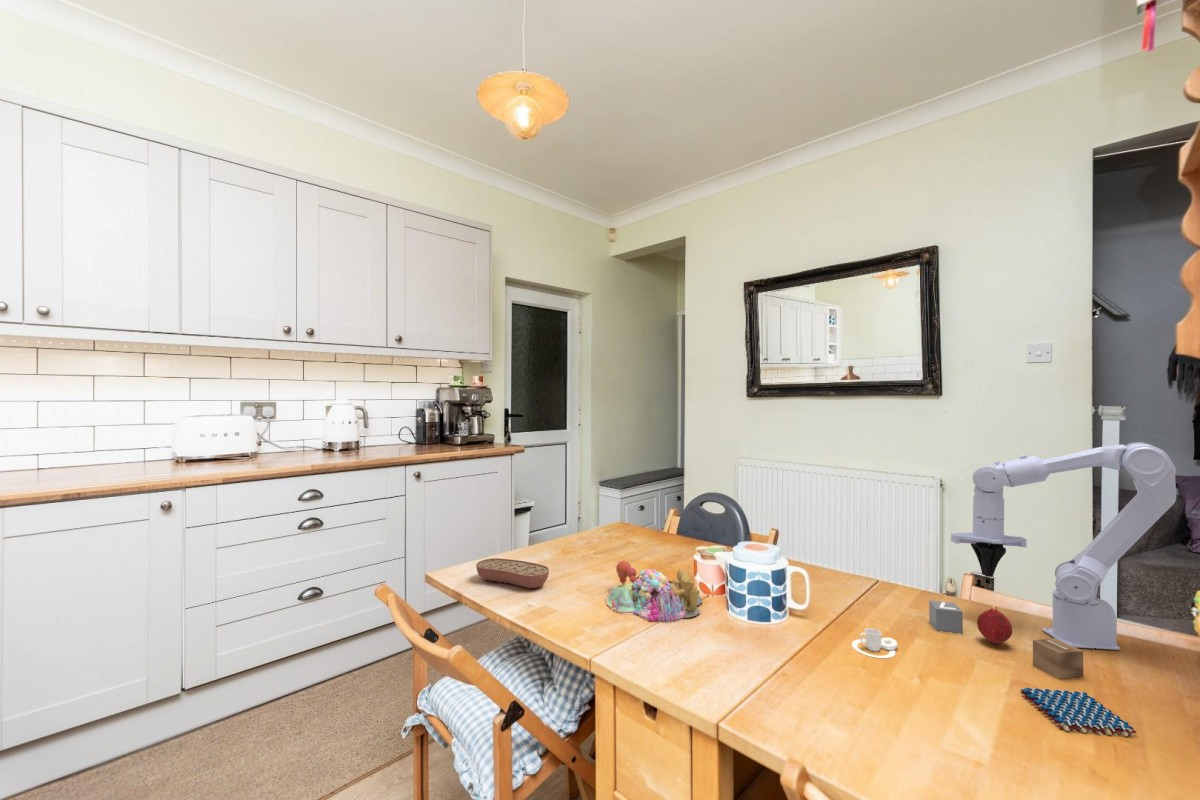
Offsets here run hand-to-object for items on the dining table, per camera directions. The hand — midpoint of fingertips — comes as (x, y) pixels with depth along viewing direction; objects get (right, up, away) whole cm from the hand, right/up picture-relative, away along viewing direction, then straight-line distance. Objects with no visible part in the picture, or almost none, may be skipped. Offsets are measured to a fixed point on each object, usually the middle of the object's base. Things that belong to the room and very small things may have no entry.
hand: (987, 575), depth 117 cm
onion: (-7, -11, -11) cm, 17 cm away
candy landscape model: (-76, -12, +12) cm, 78 cm away
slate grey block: (-12, -11, -4) cm, 17 cm away
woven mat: (-13, -11, -35) cm, 39 cm away
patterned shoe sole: (-115, -12, +26) cm, 119 cm away
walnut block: (-4, -11, -22) cm, 25 cm away
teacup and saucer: (-32, -11, -15) cm, 37 cm away
